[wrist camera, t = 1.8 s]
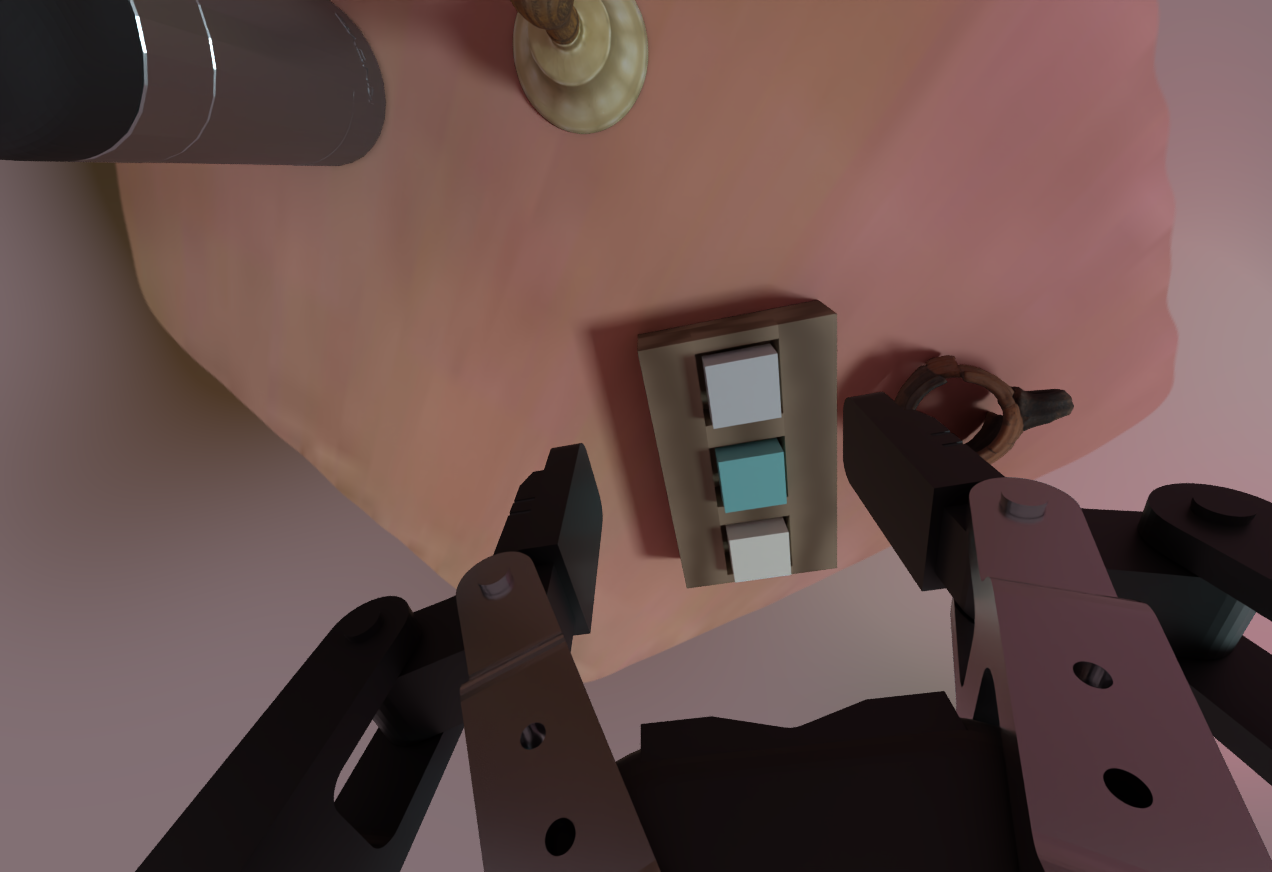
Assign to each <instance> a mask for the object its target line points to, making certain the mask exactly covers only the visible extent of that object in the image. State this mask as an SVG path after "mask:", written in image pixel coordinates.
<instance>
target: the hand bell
mask: <svg viewBox="0 0 1272 872" xmlns="http://www.w3.org/2000/svg"><path fill="white" fill-rule="evenodd" d="M510 1H511V2H512V4H513V6H514V7H515V8H516V10H517V11H518V12H517V16H516V20H515V25H514V32H513V55H514V63H515V67H516V71H517V75H518V78H519V81H520V84H521V86H522V88H523V90H524V93H525V94H526V96H527V98H528V99H529V101H530V102H531V104H532V105H533V106H534V108H535V109H536V110H537V111H538V112H539V113H540V114H541V115H542V116H543V117H544V118H545V119H546V120H548V121H549V122H550V123H552V124H553V125H555V126H556V127H558V128H560V129H563V130H566V131H569V132H573V133H579V134H590V133H595V132H599V131H602V130H605V129H607V128H609V127H611V126H613V125H614V124H616V123H617V122H618V121H620V120H621V119H622V118H623V117H624V116H625V115H626V114H627V113H628V112H629V110H630V109H631V108H632V106H633V105H634V103H635V101H636V100H637V98H638V96H639V93H640V91H641V89H642V87H643V83H644V80H645V76H646V72H647V64H648V41H647V34H646V29H645V24H644V21H643V18H642V15H641V12H640V10H639V8H638V6H637V4H636V2H635V0H510Z"/></svg>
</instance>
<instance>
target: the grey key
mask: <svg viewBox="0 0 1272 872" xmlns="http://www.w3.org/2000/svg"><path fill="white" fill-rule="evenodd" d="M702 363H703V370H704V377H705V384H706V391H707V398H708V405H709V412H710V418H711V421H712V425H713V428H714V429H716V428H722V427H728V426H734V425H740V424H746V423H752V422H757V421H763V420H769V419H775V418H781V402H780V386H779V370H778V354H777V352H776V351H775V349H774V348H773V347H772V345H771V344H770V343H769V344H764V345H759V346H753V347H748V348H742V349H737V350H732V351H726V352H721V353H716V354H710V355H705V356H702Z"/></svg>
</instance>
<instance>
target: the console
mask: <svg viewBox="0 0 1272 872" xmlns="http://www.w3.org/2000/svg"><path fill="white" fill-rule="evenodd" d="M769 343H770V344H771V345H772V347H773V348H774V349H775V351H776V352H777V354H778V370H779V386H780V402H781V418H775V419H769V420H763V421H757V422H752V423H746V424H740V425H734V426H728V427H722V428H716V429H714V428H713V425H712V421H711V418H710V412H709V405H708V398H707V391H706V384H705V377H704V370H703V363H702V356H705V355H710V354H716V353H721V352H726V351H732V350H737V349H742V348H748V347H753V346H759V345H764V344H769ZM638 356H639V361H640V366H641V370H642V375H643V380H644V385H645V390H646V394H647V399H648V404H649V409H650V414H651V419H652V423H653V428H654V433H655V438H656V443H657V447H658V452H659V457H660V462H661V467H662V471H663V476H664V481H665V486H666V491H667V496H668V500H669V505H670V510H671V515H672V520H673V524H674V529H675V534H676V539H677V544H678V548H679V553H680V558H681V563H682V568H683V573H684V577H685V582H686V587H687V588H694V587H701V586H708V585H716V584H723V583H730V582H735V580H734V575H733V571H732V567H731V560H730V553H729V546H728V539H727V532H726V525H728V524H734V523H741V522H748V521H755V520H761V519H768V518H775V517H781V516H782V517H783V519H784V522H785V524H786V527H787V529H788V532H789V546H790V562H791V574H796V573H804V572H811V571H818V570H826V569H833V568H837V313H835V312H834V311H833V310H831V309H830V308H829V307H827V306H826V305H824V304H823V303H822V302H820V301H819V300H815V301H810V302H805V303H800V304H795V305H790V306H784V307H779V308H774V309H769V310H764V311H759V312H753V313H748V314H743V315H738V316H733V317H728V318H722V319H717V320H712V321H707V322H702V323H697V324H691V325H686V326H681V327H676V328H671V329H666V330H661V331H655V332H650V333H645V334H640V335H638ZM773 438H777V440H778V442H779V444H780V446H781V448H782V450H783V452H784V466H785V482H786V498H787V504H782V505H775V506H769V507H762V508H755V509H749V510H742V511H736V512H729V513H725V509H724V505H723V501H722V497H721V490H720V483H719V476H718V469H717V462H716V455H715V448H719V447H725V446H731V445H737V444H743V443H749V442H755V441H761V440H767V439H773Z"/></svg>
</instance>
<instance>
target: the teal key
mask: <svg viewBox="0 0 1272 872" xmlns="http://www.w3.org/2000/svg"><path fill="white" fill-rule="evenodd" d="M715 455H716V462H717V469H718V476H719V483H720V490H721V497H722V501H723V505H724V509H725V513H729V512H736V511H742V510H749V509H755V508H762V507H769V506H775V505H782V504H787V498H786V482H785V466H784V452H783V450H782V448H781V446H780V444H779V442H778V440H777V438H773V439H767V440H761V441H755V442H749V443H743V444H737V445H731V446H725V447H719V448H715Z"/></svg>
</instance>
